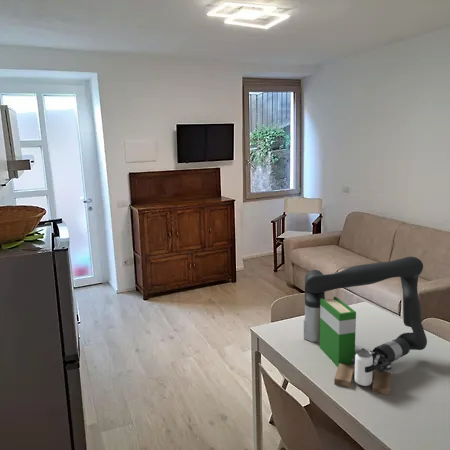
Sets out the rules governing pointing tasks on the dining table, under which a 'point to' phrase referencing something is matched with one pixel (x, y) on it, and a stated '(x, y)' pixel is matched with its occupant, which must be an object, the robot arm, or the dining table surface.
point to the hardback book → (337, 331)
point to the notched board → (379, 378)
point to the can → (363, 367)
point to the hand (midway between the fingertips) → (359, 366)
